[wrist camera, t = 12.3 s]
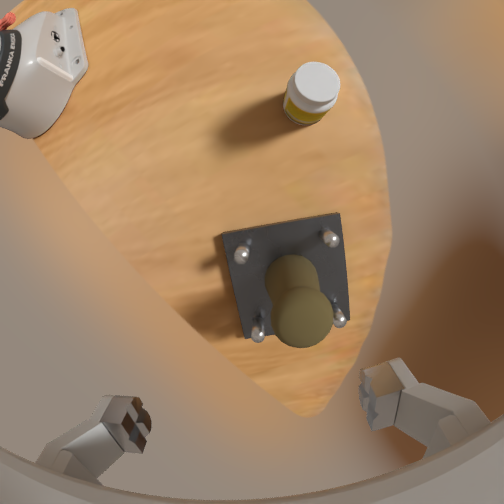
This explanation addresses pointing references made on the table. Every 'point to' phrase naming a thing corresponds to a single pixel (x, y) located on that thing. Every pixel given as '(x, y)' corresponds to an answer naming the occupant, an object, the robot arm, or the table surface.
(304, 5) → the table surface
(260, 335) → the standoff chassis
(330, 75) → the supplement bottle
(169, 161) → the table surface
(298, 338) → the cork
